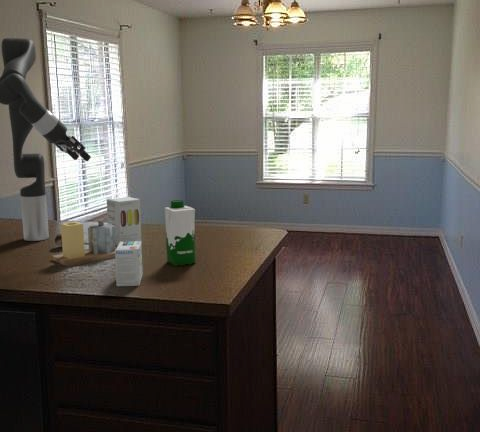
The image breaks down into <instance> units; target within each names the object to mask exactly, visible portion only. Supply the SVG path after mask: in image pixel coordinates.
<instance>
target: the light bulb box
mask: <svg viewBox="0 0 480 432" xmlns="http://www.w3.org/2000/svg"><path fill="white" fill-rule="evenodd" d="M115 249H116V250H115V258H114V259H115V260H114V261H115V263H114V264H115V278H116V279H115V280H116V287H135V286H136V287H137V286H138V287H139V286H140V284H141V280H142V278H143V257H142V255H143V252H142V250H143V249H142V240H141V241H128V242H119V244H118V246H117V245H116V247H115Z"/></svg>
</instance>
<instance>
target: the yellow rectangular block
mask: <svg viewBox="0 0 480 432" xmlns="http://www.w3.org/2000/svg"><path fill="white" fill-rule="evenodd" d="M60 230H61V232H60V233H61V234H62V246H61V248H62V254H63V257H66V258H69V259H74V258H79V257H84V256H85V250H86V249H85V236H84V233H85V232H84V223H82V222H79V221H73V222H72V221H71V222H64V223H60Z"/></svg>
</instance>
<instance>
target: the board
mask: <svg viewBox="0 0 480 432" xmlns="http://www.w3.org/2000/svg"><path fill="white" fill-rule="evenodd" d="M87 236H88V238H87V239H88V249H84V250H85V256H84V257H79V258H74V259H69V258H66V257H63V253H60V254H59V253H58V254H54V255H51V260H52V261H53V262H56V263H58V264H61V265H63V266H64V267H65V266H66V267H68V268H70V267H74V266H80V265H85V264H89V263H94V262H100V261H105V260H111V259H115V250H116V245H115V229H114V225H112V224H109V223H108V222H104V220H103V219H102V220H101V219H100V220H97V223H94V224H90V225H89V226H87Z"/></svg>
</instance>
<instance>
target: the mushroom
mask: <svg viewBox="0 0 480 432" xmlns="http://www.w3.org/2000/svg"><path fill="white" fill-rule="evenodd" d="M54 243H55V245H56V246H58V247H62V234H61V232H60V233H58V234H57V235H56V236H55V237H54Z"/></svg>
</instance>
